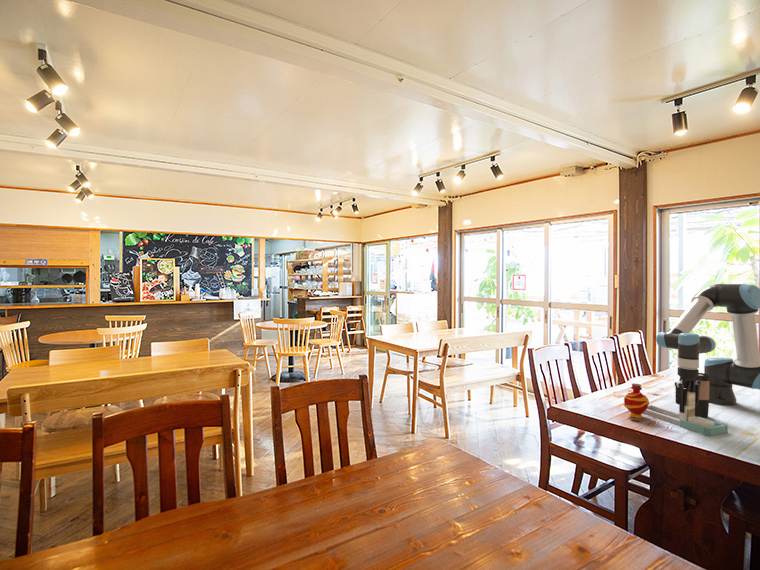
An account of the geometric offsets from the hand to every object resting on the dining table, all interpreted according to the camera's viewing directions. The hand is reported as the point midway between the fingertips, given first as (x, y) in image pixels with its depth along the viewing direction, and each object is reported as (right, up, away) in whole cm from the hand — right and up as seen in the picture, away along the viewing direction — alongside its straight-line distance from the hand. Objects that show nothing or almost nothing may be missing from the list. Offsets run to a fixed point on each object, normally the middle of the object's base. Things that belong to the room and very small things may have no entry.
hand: (686, 419), depth 181 cm
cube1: (+1, -2, -4) cm, 5 cm away
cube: (+2, -2, -8) cm, 8 cm away
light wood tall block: (0, -2, 0) cm, 2 cm away
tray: (+2, -2, -7) cm, 7 cm away
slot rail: (-3, -2, +9) cm, 10 cm away
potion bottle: (-16, -2, +10) cm, 19 cm away
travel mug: (+14, -2, +11) cm, 18 cm away
